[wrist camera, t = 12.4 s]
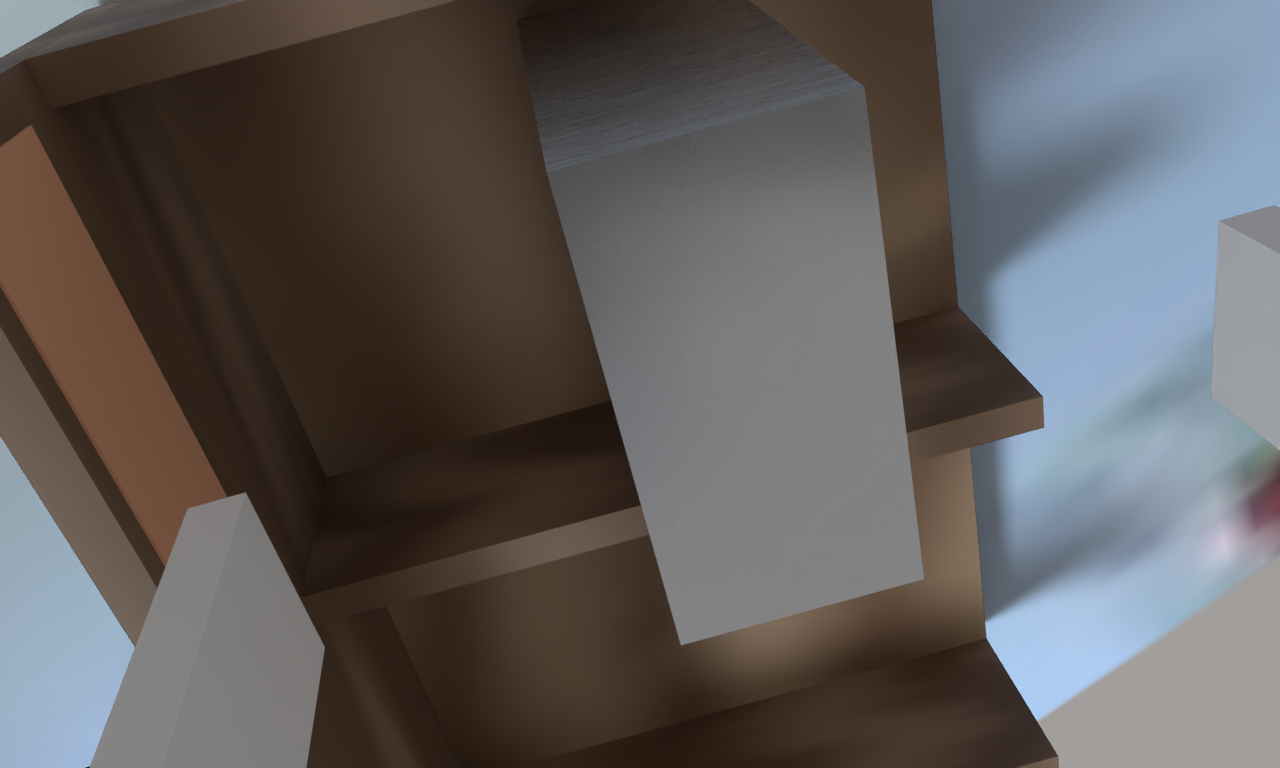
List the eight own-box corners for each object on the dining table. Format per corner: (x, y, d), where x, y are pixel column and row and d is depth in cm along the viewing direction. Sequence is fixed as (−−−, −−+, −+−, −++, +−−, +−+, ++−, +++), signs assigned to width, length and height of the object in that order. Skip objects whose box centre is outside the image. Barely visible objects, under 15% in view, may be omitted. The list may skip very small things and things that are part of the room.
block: (609, 356, 26) (681, 645, 17) (516, 20, 22) (546, 172, 13) (771, 313, 26) (924, 578, 17) (707, -31, 22) (864, 86, 13)
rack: (448, 778, 33) (440, 1129, 24) (83, 10, 21) (-181, 159, 13) (974, 634, 33) (1152, 933, 25) (896, -206, 22) (1183, -205, 13)
